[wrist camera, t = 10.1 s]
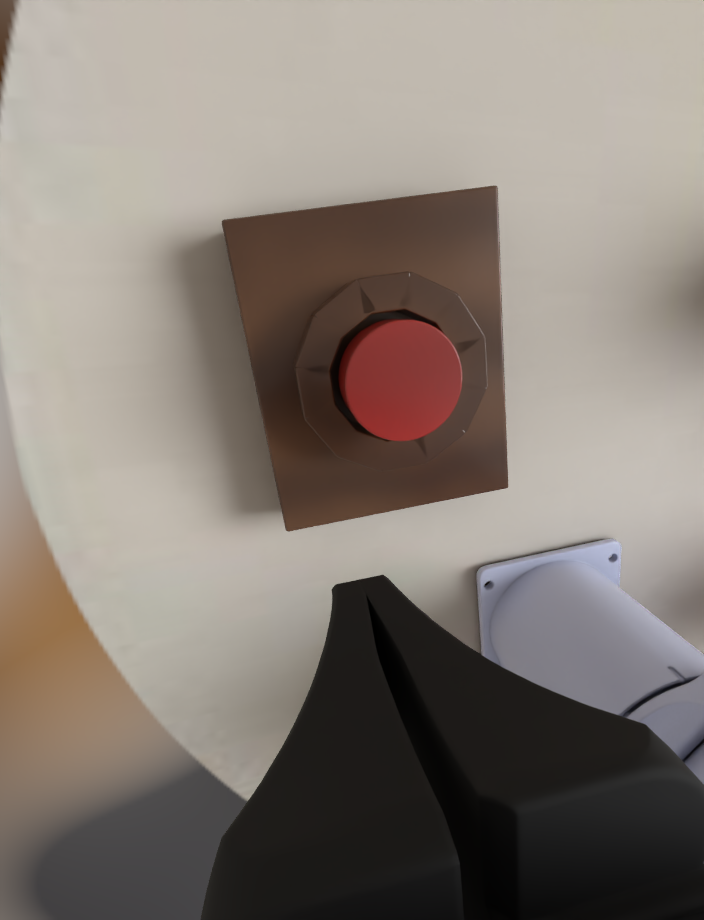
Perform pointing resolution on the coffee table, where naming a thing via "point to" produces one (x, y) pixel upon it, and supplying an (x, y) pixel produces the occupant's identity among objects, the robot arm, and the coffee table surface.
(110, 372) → the coffee table surface
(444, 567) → the coffee table surface
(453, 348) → the button
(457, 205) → the switch block
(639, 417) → the coffee table surface
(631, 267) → the coffee table surface
